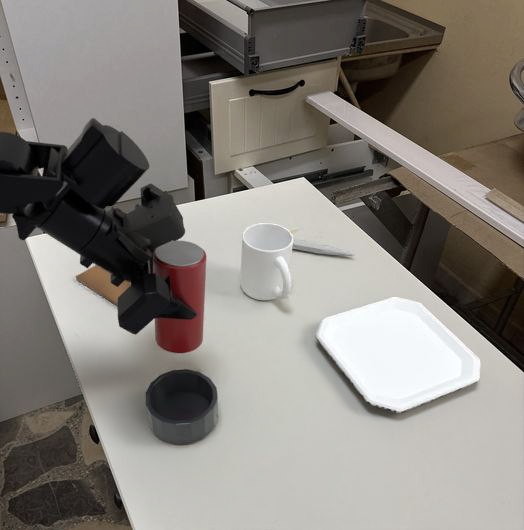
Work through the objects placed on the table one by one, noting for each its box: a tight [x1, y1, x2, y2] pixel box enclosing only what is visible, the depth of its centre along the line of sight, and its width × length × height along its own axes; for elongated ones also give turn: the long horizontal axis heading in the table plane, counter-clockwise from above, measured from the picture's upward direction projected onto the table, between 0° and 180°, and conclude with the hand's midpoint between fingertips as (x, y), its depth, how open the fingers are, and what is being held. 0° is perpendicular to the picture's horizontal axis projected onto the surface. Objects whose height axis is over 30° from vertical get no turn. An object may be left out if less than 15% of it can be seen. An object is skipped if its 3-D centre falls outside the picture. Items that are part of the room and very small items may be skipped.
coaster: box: [75, 264, 131, 307], centre depth 91 cm, size 12×12×1 cm
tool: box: [292, 238, 356, 257], centre depth 99 cm, size 17×2×2 cm, turn 77°
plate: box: [315, 296, 482, 414], centre depth 81 cm, size 21×21×2 cm
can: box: [153, 240, 207, 354], centre depth 67 cm, size 6×6×13 cm
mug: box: [240, 222, 294, 301], centre depth 87 cm, size 12×8×10 cm
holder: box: [144, 368, 219, 446], centre depth 69 cm, size 9×9×4 cm
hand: (191, 299), depth 68 cm, fingers closed on can, 6 cm apart
